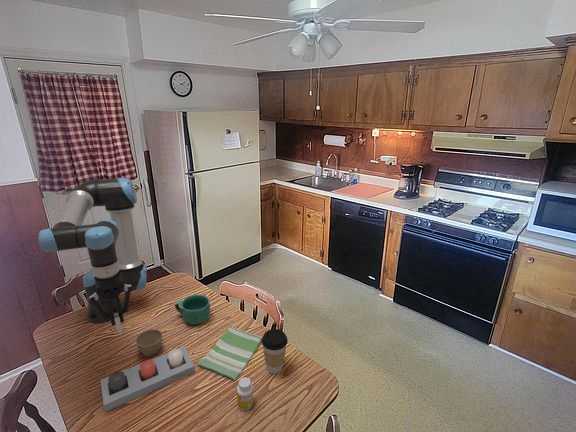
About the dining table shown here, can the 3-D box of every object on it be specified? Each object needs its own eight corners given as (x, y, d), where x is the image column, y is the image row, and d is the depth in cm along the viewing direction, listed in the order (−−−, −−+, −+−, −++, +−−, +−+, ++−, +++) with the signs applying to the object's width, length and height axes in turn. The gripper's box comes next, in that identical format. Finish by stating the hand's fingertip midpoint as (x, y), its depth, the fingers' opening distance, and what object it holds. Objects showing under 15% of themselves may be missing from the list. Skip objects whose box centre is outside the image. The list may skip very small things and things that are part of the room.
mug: (215, 313, 152) (214, 297, 149) (202, 330, 141) (200, 313, 138) (185, 307, 156) (183, 291, 153) (170, 323, 145) (168, 306, 142)
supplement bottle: (238, 397, 109) (237, 375, 106) (253, 396, 110) (252, 375, 107) (237, 411, 104) (235, 389, 101) (253, 410, 105) (252, 388, 101)
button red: (140, 375, 116) (138, 363, 114) (155, 369, 119) (152, 357, 117) (143, 385, 112) (141, 372, 110) (158, 379, 115) (155, 366, 113)
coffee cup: (290, 361, 125) (291, 331, 120) (281, 380, 116) (282, 349, 111) (267, 355, 128) (267, 325, 123) (257, 373, 119) (257, 342, 114)
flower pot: (155, 362, 123) (152, 348, 121) (132, 358, 125) (129, 344, 122) (169, 344, 132) (167, 330, 130) (148, 340, 134) (145, 327, 132)
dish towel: (196, 367, 122) (195, 361, 121) (229, 329, 142) (229, 324, 141) (235, 382, 116) (234, 377, 115) (264, 341, 136) (264, 336, 135)
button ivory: (168, 364, 121) (166, 352, 119) (181, 358, 124) (180, 346, 122) (171, 373, 118) (170, 360, 116) (185, 367, 120) (183, 355, 118)
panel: (102, 385, 113) (100, 379, 112) (185, 352, 128) (184, 346, 127) (105, 411, 103) (103, 405, 102) (194, 372, 119) (194, 366, 118)
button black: (110, 388, 111) (107, 375, 109) (126, 381, 114) (123, 369, 112) (112, 398, 107) (109, 385, 105) (128, 391, 110) (125, 378, 108)
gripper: (84, 284, 95) (99, 344, 104) (131, 272, 102) (141, 329, 111) (82, 273, 101) (97, 331, 110) (127, 262, 108) (137, 317, 117)
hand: (119, 330), depth 110 cm, fingers closed
